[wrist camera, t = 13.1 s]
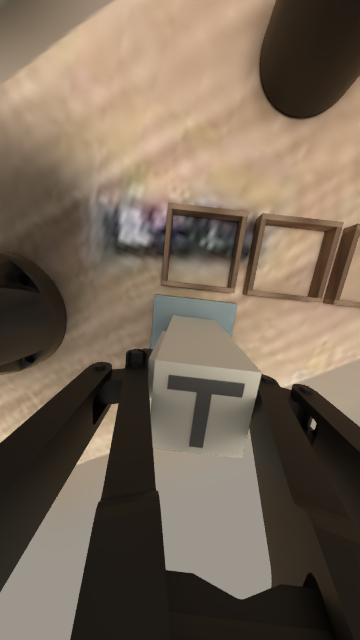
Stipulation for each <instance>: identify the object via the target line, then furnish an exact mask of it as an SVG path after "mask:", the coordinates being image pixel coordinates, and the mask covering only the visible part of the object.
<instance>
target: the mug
mask: <svg viewBox="0 0 360 640" xmlns="http://www.w3.org/2000/svg"><path fill="white" fill-rule="evenodd" d="M261 76H262V82H263V86H264V89H265V91H266V93H267V96H268V97H269V99H270V100H271V102H272V103H273V104H274V105H275V106H276V107H277V108H278V109H279V110H280V111H282V112H283V113H285V114H288V115H290V116H295V117H307V116H312V115H315V114H318V113H320V112H322V111H324V110H325V109H327V108H329V107H330V106H332V105H333V104H334V103H336V102H337V101H338V100H339V99H340V98H341V97H342V96H343V95H344V94H345V92H346V91H347V90H348V89H349V88H350V86H351V85H352V84H353V83H354V82H355V80H356V79H357V78H358V77H359V76H360V0H276V3H275V6H274V9H273V12H272V15H271V18H270V21H269V24H268V28H267V31H266V34H265V37H264V41H263V45H262V51H261Z"/></svg>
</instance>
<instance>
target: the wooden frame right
mask: <svg viewBox="0 0 360 640" xmlns="http://www.w3.org/2000/svg"><path fill="white" fill-rule="evenodd" d="M359 235H360V224H356V225H353V226H350V227H347V228H345V229H344V232H343V235H342V239H341V242H340V246H339V249H338V253H337V256H336V260H335V263H334V267H333V270H332V274H331V277H330V280H329V284H328V287H327V291H326V294H325V298H324V301H323V303H327V304H335V305H344V306H353V307H360V303H357V302H348V301H340V296H341V293H342V290H343V287H344V283H345V280H346V277H347V274H348V270H349V267H350V264H351V261H352V257H353V254H354V251H355V248H356V244H357V241H358V238H359Z"/></svg>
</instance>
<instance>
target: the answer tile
mask: <svg viewBox="0 0 360 640" xmlns="http://www.w3.org/2000/svg"><path fill="white" fill-rule="evenodd" d="M236 309H237V304H236V303H229V302H220V301H212V300H203V299H194V298H185V297H176V296H168V295H159V294H155V297H154V310H153V323H152V336H151V348H150V349H154V347H155V345H156V343H157V341H158V339H159V337H160V335H161V333H162V331H167V329H168V326H169V324H170V321H171V319H172V316H173V315H176V316H184V317H193V318H202V319H211V320H216V321H217V322H218V324H219V325H220V326H221V327H222V328H223V329H224V330H225V331H226V333H227V334H228V335H229V336H230V337H231V336H232V331H233V326H234V320H235V315H236Z"/></svg>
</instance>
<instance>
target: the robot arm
mask: <svg viewBox="0 0 360 640" xmlns="http://www.w3.org/2000/svg"><path fill="white" fill-rule="evenodd" d="M65 329H66V312H65V307H64V303H63V300H62V297H61V295H60V293H59V291H58V289H57V287H56V286H55V284H54V283H53V281H52V280H51V279H50V278H49V276H48V275H47V274H46V273H45V272H44V271H43V270H42V269H40V268H39V267H38V266H37V265H35V264H34V263H32V262H31V261H29V260H27V259H26V258H23V257H21V256H19V255H16V254H13V253H9V252H4V251H0V375H4V374H9V373H14V372H18V371H22V370H25V369H27V368H30V367H32V366H34V365H36V364H37V363H39V362H41V361H43V360H45V359H47V358H48V357H49V356H51V355H52V354H53V353H54V352H55V351H56V350H57V348H58V347H59V345H60V344H61V342H62V340H63V337H64V334H65ZM165 334H166V331H162V333H161V335H160V337H159V339H158V341H157V343H156V345H155V347H154V349H146V348H144V349H132V350H129V351H127V353H126V366H125V368H123V369H112V365H111V364H110V363H106V362H97V363H94V364H92V365H90V366H89V367H88V368H86V369H85V370H84V371H83V372H82V373H81V374H79V375H78V376H77V377H76V378H75V379H74V380H73V381H71V382H70V383H69V384H68V385H67V386H66V387H64V388H63V389H62V390H61V391H60V392H59V393H58V394H56V395H55V396H54V397H53V398H52V399H51V400H50V401H48V402H47V403H46V404H45V405H44V406H43V407H41V408H40V409H39V410H38V411H37V412H36V413H35V414H33V415H32V416H31V417H30V418H29V419H28V420H26V421H25V422H24V423H23V424H22V425H21V426H20V427H18V428H17V429H16V430H15V431H14V432H13V433H11V434H10V435H9V436H8V437H7V438H6V439H5V440H3V441H2V442H1V443H0V592H1V590H2V588H3V586H4V585H5V583H6V581H7V580H8V578H9V577H10V575H11V573H12V571H13V570H14V568H15V566H16V565H17V563H18V561H19V559H20V558H21V556H22V555H23V553H24V551H25V550H26V548H27V546H28V545H29V543H30V541H31V539H32V538H33V536H34V534H35V532H36V531H37V529H38V528H39V526H40V524H41V523H42V521H43V519H44V518H45V516H46V514H47V512H48V511H49V509H50V507H51V506H52V504H53V502H54V501H55V499H56V497H57V496H58V494H59V492H60V490H61V489H62V487H63V486H64V484H65V482H66V480H67V479H68V477H69V476H70V474H71V472H72V470H73V469H74V467H75V465H76V464H77V462H78V460H79V459H80V457H81V455H82V454H83V452H84V450H85V449H86V447H87V445H88V444H89V442H90V440H91V438H92V437H93V435H94V433H95V432H96V430H97V428H98V427H99V425H100V423H101V422H102V420H103V418H104V417H105V415H106V413H107V412H108V410H109V408H110V406H111V404H116V403H119V404H118V410H117V415H116V421H115V426H114V432H113V437H112V443H111V448H110V454H109V460H108V465H107V470H106V476H105V482H104V487H103V492H102V497H101V500H100V502H98V505H97V509H96V513H95V518H94V522H93V527H92V532H91V537H90V543H89V548H88V553H87V558H86V563H85V568H84V573H83V578H82V584H81V588H80V593H79V599H78V604H77V609H76V614H75V619H74V624H73V629H72V634H71V639H70V640H360V427H359V426H358V425H357V424H355V423H354V422H353V421H352V420H351V419H349V418H348V417H347V416H346V415H344V414H343V413H342V412H341V411H340V410H338V409H337V408H336V407H335V406H333V405H332V404H331V403H330V402H329V401H327V400H326V399H325V398H324V397H323V396H321V395H320V394H319V393H318V392H316V391H314V390H313V389H311V388H309V387H308V386H305V385H301V384H294V385H293V386H292V389H291V390H289V389H285V388H282V387H280V386H279V384H278V382H277V381H276V380H275V379H273V378H271V377H269V376H266V375H263V374H261V378H260V383H259V387H258V391H257V396H256V400H255V404H254V409H253V413H252V417H251V422H250V426H249V427H250V434H251V441H252V446H253V454H254V460H255V466H256V473H257V479H258V486H259V493H260V499H261V506H262V512H263V518H264V525H265V532H266V537H267V544H268V551H269V557H270V564H271V575H272V587H271V588H270V589H268V590H266V591H263V592H261V593H258V594H256V595H253V596H251V597H248V598H246V599H243V600H242V599H237V598H235V597H233V596H232V595H229V594H228V593H226V592H224V591H223V590H221V589H219V588H217V587H216V586H214V585H212V584H210V583H209V582H207V581H205V580H203V579H202V578H200V577H198V576H196V575H195V574H193V573H184V572H176V571H168V570H166V569H165V557H164V546H163V533H162V521H161V510H160V500H159V494H158V491H156V487H155V474H154V473H155V472H154V460H153V459H154V458H153V443H152V429H151V415H150V400H149V398H152V391H153V379H154V367H155V359H156V357H157V354H158V352H159V349H160V347H161V344H162V342H163V339H164V337H165ZM312 419H314V420H315V421H316V423H317V425H316V428H315V430H313V429H312V428H311V427H310V425H311V422H312Z"/></svg>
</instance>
